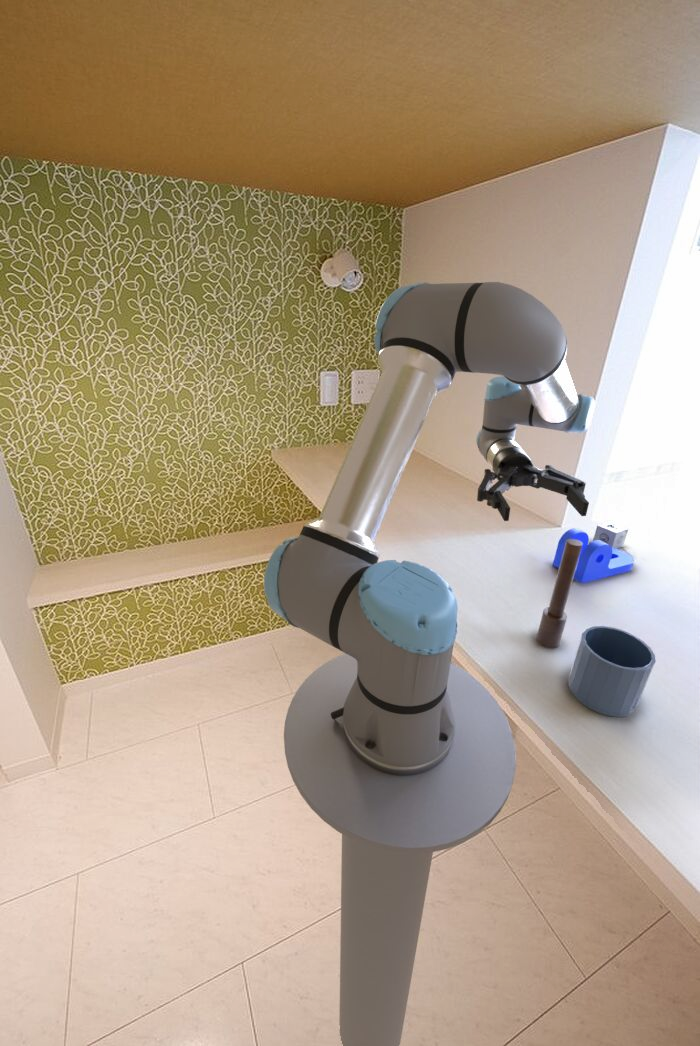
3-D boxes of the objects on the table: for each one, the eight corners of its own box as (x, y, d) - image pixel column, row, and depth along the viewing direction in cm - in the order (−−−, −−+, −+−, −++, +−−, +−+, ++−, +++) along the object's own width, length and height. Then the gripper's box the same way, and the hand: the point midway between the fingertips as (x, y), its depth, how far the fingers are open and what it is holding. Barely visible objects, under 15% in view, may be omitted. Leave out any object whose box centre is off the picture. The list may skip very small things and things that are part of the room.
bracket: (581, 583, 95) (592, 547, 91) (552, 564, 102) (561, 530, 98) (639, 568, 101) (652, 534, 97) (608, 552, 108) (619, 519, 104)
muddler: (543, 648, 76) (570, 548, 67) (532, 634, 79) (556, 537, 71) (563, 647, 76) (593, 547, 68) (552, 632, 80) (578, 536, 71)
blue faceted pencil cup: (591, 719, 62) (609, 672, 59) (556, 671, 71) (569, 627, 67) (651, 714, 64) (671, 667, 60) (609, 667, 72) (624, 623, 68)
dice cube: (604, 538, 114) (609, 521, 112) (622, 546, 110) (628, 528, 108) (592, 542, 112) (597, 525, 110) (610, 550, 108) (616, 533, 106)
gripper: (564, 474, 96) (613, 525, 78) (451, 482, 97) (473, 534, 79) (570, 442, 92) (623, 488, 74) (452, 450, 93) (476, 498, 75)
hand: (546, 512), depth 77 cm, fingers open, 13 cm apart
